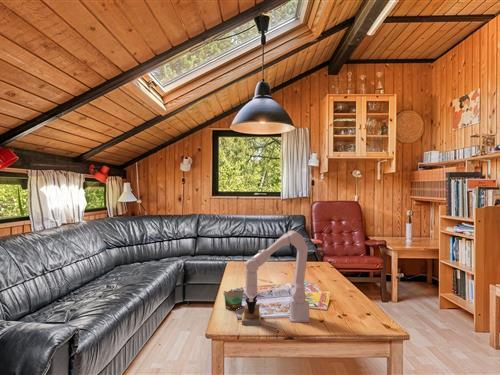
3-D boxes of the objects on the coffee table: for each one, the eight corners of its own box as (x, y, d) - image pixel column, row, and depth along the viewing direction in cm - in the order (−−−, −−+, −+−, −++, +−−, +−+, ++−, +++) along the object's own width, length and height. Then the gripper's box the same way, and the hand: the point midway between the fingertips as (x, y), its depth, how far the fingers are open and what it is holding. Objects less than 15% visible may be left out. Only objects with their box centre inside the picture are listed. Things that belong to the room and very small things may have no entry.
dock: (260, 316, 166) (260, 312, 166) (260, 325, 156) (260, 320, 156) (243, 316, 166) (243, 312, 166) (241, 324, 156) (241, 320, 156)
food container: (229, 313, 170) (229, 294, 170) (223, 309, 175) (223, 290, 175) (248, 307, 178) (248, 289, 178) (242, 304, 183) (242, 286, 183)
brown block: (259, 314, 164) (259, 304, 163) (259, 318, 159) (259, 308, 158) (245, 314, 164) (245, 304, 164) (244, 318, 159) (244, 308, 159)
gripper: (244, 279, 168) (244, 305, 169) (242, 288, 154) (242, 317, 154) (257, 279, 168) (257, 305, 168) (257, 288, 154) (257, 317, 154)
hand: (251, 311), depth 161 cm, fingers closed on brown block, 5 cm apart
